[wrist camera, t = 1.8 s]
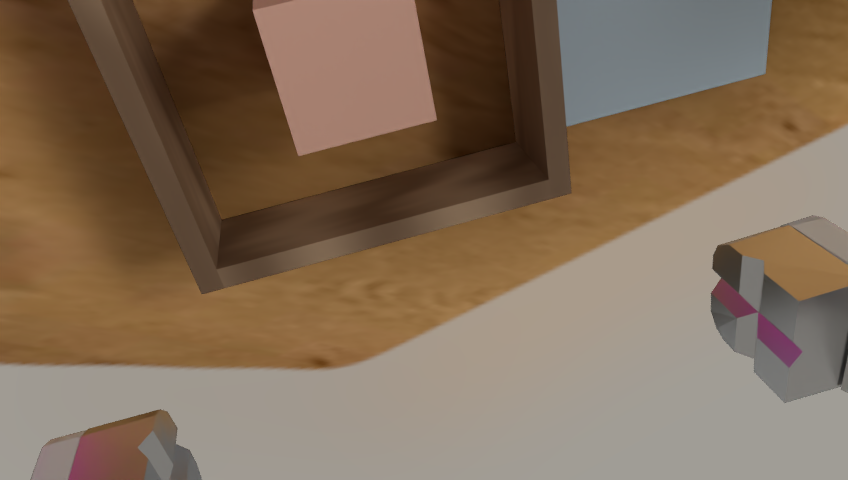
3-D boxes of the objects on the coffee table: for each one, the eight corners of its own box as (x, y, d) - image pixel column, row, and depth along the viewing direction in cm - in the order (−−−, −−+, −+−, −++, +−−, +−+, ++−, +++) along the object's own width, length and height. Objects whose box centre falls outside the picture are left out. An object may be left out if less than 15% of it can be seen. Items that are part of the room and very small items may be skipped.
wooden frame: (491, -283, 25) (533, -306, 21) (536, 154, 34) (571, 193, 30) (26, -185, 23) (-20, -191, 20) (208, 242, 33) (201, 294, 29)
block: (373, -58, 28) (409, -28, 21) (397, 59, 30) (437, 120, 24) (254, -30, 27) (252, 10, 21) (289, 86, 30) (298, 155, 23)
